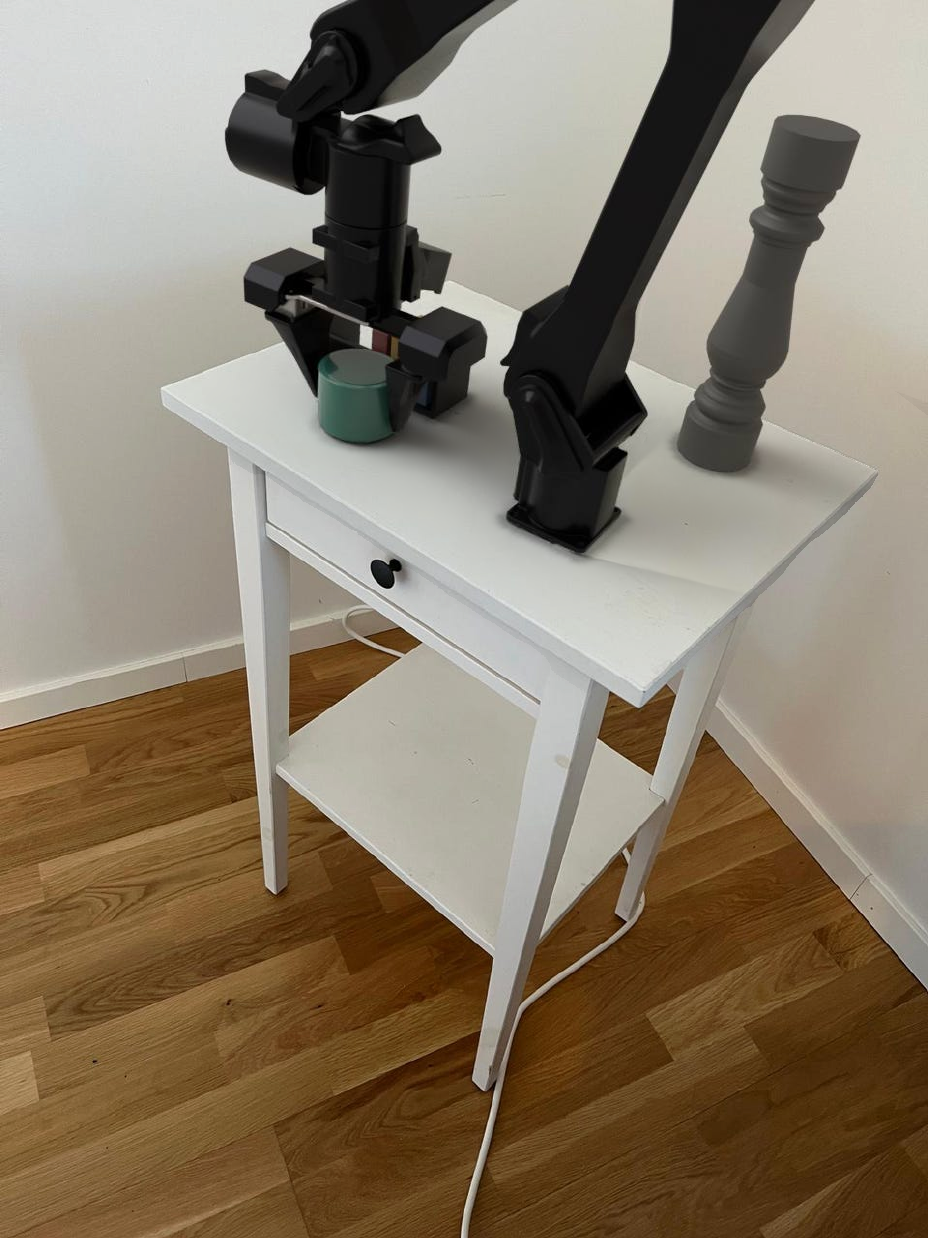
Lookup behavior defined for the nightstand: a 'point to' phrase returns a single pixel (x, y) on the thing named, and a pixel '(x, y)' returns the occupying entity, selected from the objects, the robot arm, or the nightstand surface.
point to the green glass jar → (354, 395)
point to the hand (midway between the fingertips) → (358, 413)
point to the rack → (348, 337)
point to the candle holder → (765, 290)
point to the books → (390, 348)
